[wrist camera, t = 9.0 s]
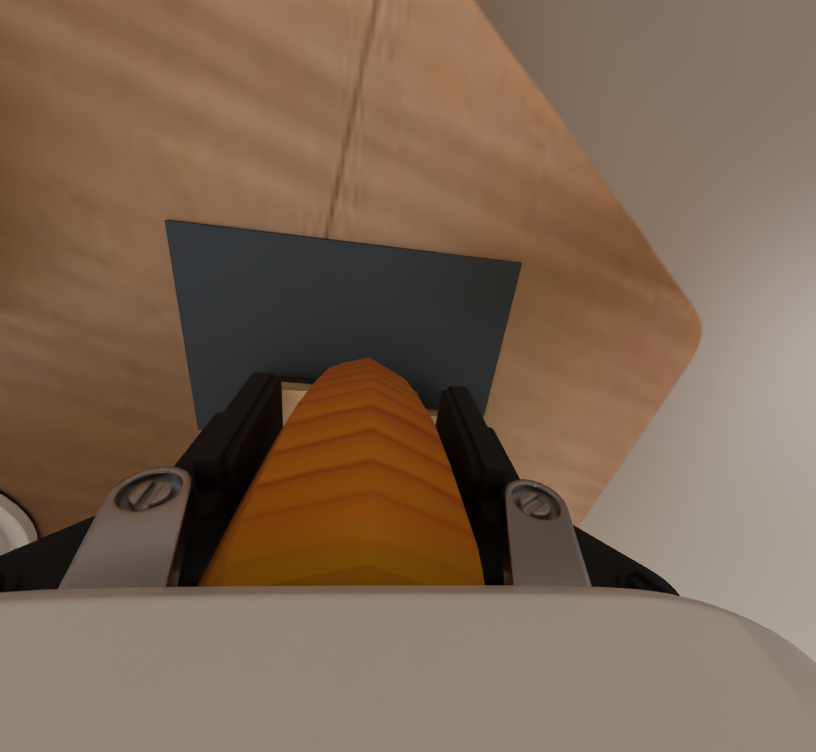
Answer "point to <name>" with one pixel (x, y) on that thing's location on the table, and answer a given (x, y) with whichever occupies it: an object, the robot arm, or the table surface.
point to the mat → (333, 311)
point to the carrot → (351, 495)
